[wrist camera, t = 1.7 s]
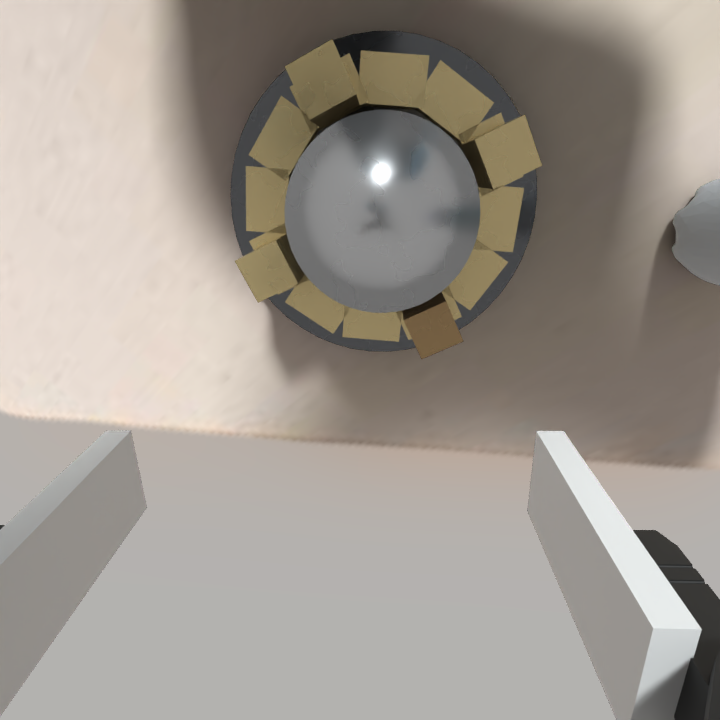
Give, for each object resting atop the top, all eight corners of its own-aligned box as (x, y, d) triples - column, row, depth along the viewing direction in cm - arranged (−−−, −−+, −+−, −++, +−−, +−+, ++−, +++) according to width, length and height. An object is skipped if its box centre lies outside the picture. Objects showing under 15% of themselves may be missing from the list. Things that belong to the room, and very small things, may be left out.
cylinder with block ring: (201, 142, 28) (164, 135, 24) (455, -2, 26) (472, -43, 21) (325, 370, 33) (315, 404, 28) (551, 270, 30) (583, 289, 25)
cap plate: (185, 133, 30) (110, 118, 22) (462, -26, 27) (498, -115, 19) (320, 381, 36) (301, 445, 27) (566, 274, 32) (630, 309, 24)
